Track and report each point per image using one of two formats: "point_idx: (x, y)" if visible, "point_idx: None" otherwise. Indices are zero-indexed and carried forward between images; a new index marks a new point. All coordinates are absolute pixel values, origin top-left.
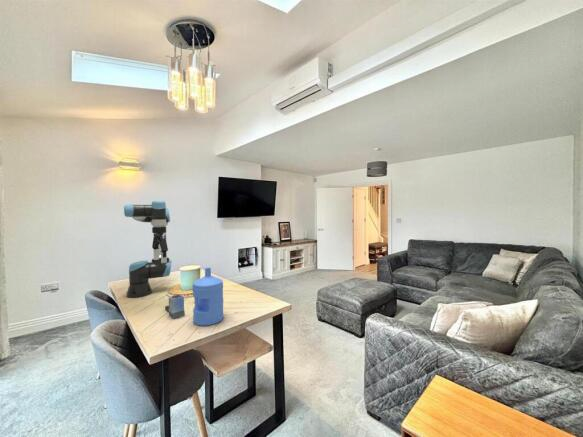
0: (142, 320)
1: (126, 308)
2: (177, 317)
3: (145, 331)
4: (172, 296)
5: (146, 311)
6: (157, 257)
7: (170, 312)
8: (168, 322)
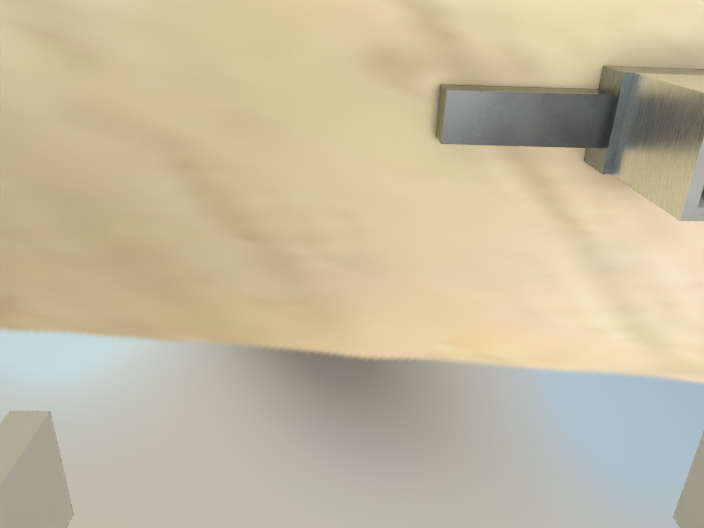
0: (496, 317)
1: (147, 332)
2: None
3: (682, 349)
4: (702, 185)
5: (340, 250)
6: (21, 495)
7: None
8: None
